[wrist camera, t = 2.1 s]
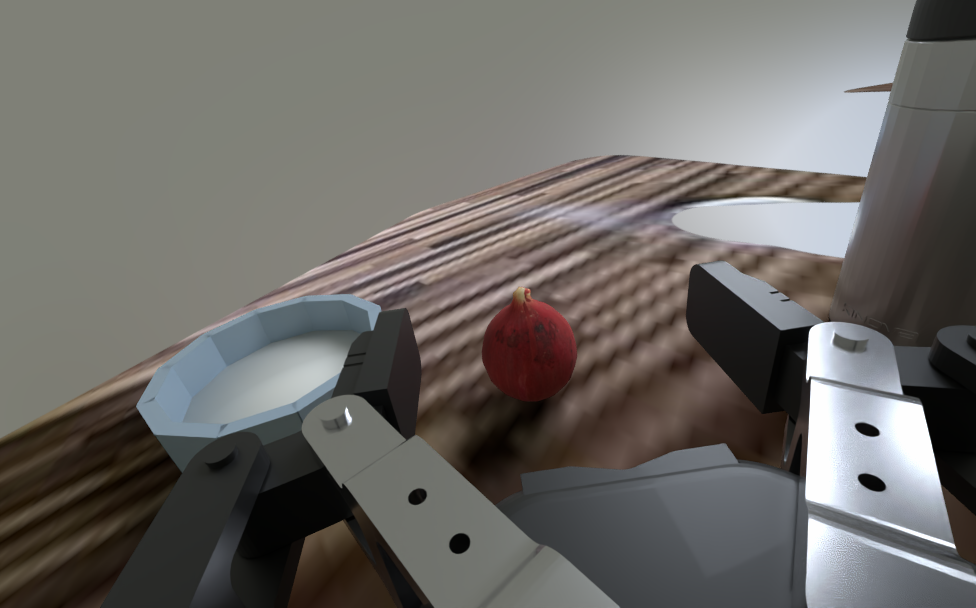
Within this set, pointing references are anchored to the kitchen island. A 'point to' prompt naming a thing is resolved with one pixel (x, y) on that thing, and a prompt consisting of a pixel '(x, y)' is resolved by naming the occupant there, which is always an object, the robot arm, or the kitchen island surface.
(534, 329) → the onion
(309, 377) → the faceted shallow dish
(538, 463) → the kitchen island surface
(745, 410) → the kitchen island surface
